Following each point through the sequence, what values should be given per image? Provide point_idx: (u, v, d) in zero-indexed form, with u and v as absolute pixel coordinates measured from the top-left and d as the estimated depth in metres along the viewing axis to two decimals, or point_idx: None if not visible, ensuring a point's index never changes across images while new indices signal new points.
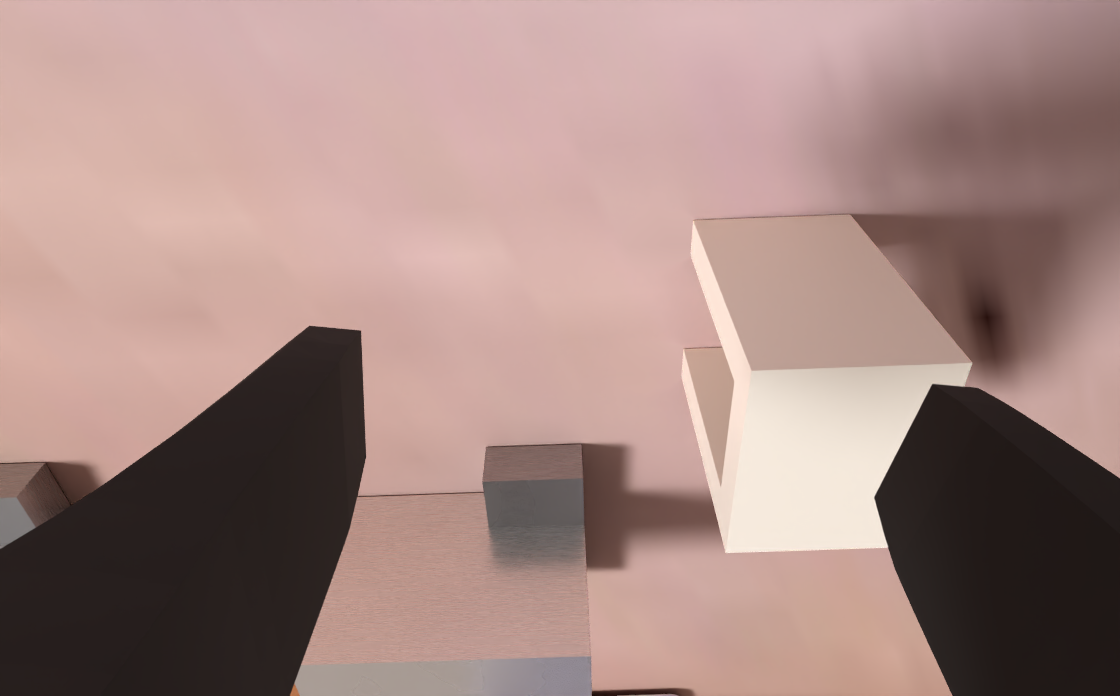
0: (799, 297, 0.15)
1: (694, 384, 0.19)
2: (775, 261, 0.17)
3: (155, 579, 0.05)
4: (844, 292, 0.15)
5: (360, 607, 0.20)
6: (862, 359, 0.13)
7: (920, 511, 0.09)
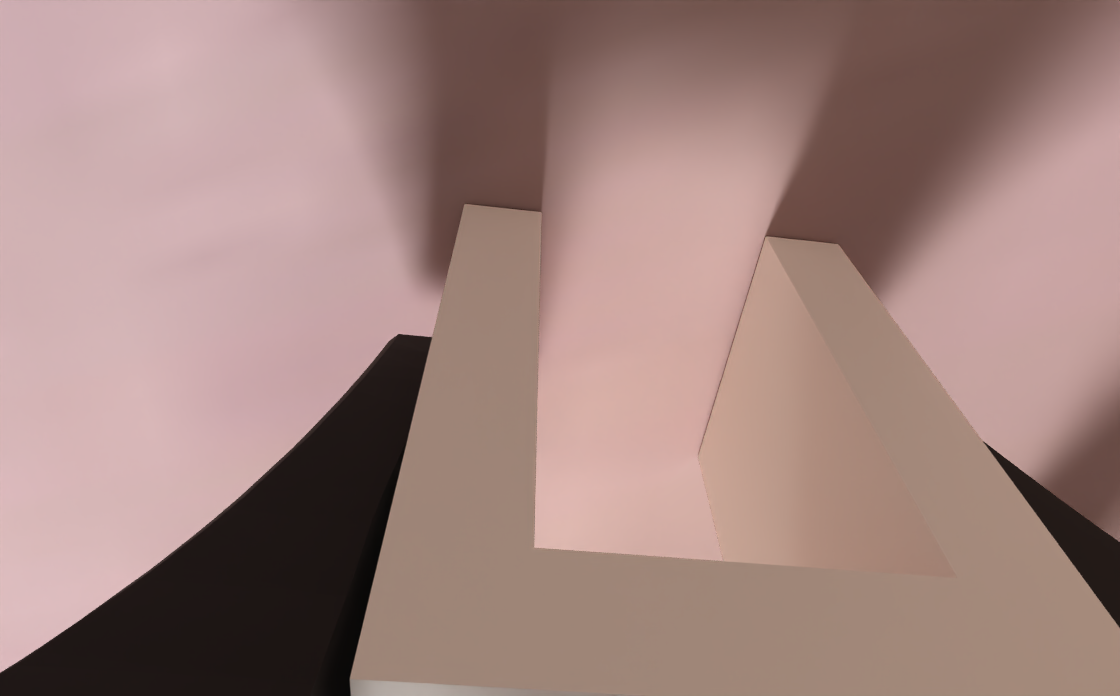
0: None
1: (717, 535, 0.10)
2: None
3: (318, 590, 0.05)
4: None
5: None
6: None
7: None
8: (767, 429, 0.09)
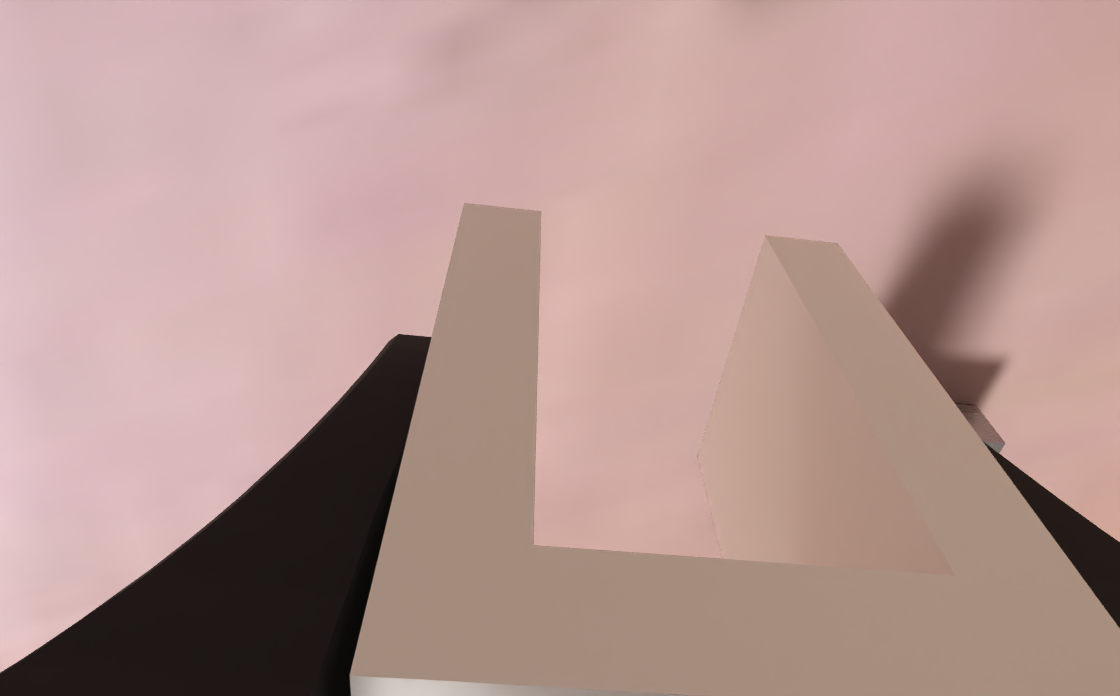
0: None
1: (717, 535, 0.10)
2: None
3: (319, 591, 0.05)
4: None
5: None
6: None
7: None
8: (767, 428, 0.09)
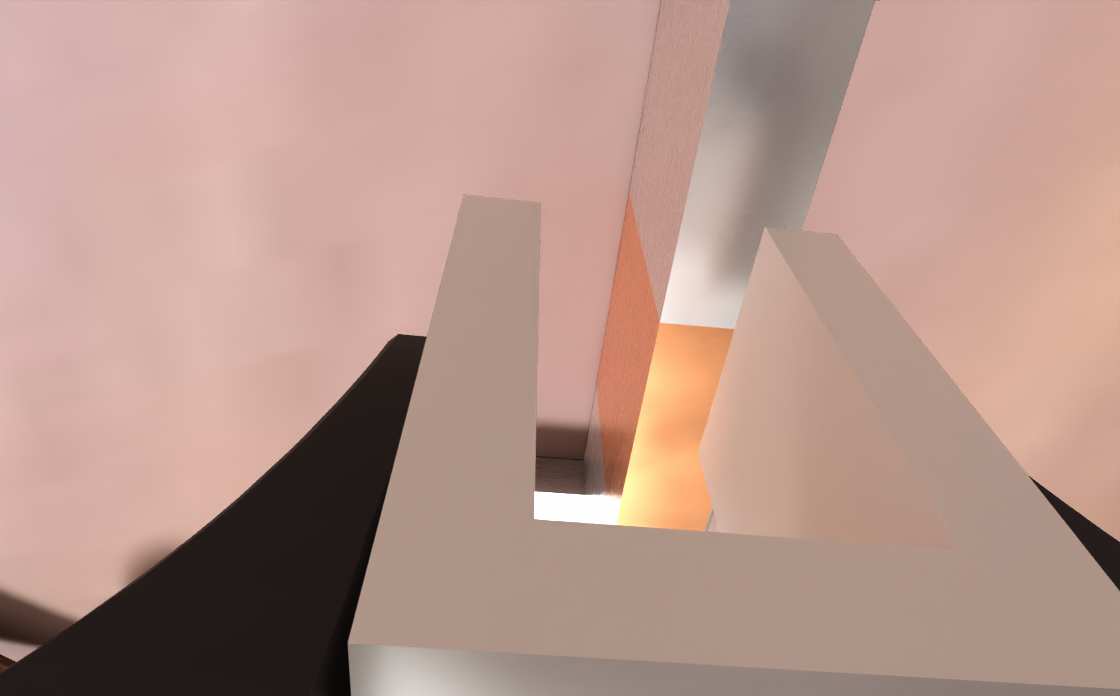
0: None
1: (719, 529, 0.10)
2: None
3: (318, 590, 0.05)
4: None
5: (663, 202, 0.14)
6: None
7: None
8: (768, 418, 0.09)
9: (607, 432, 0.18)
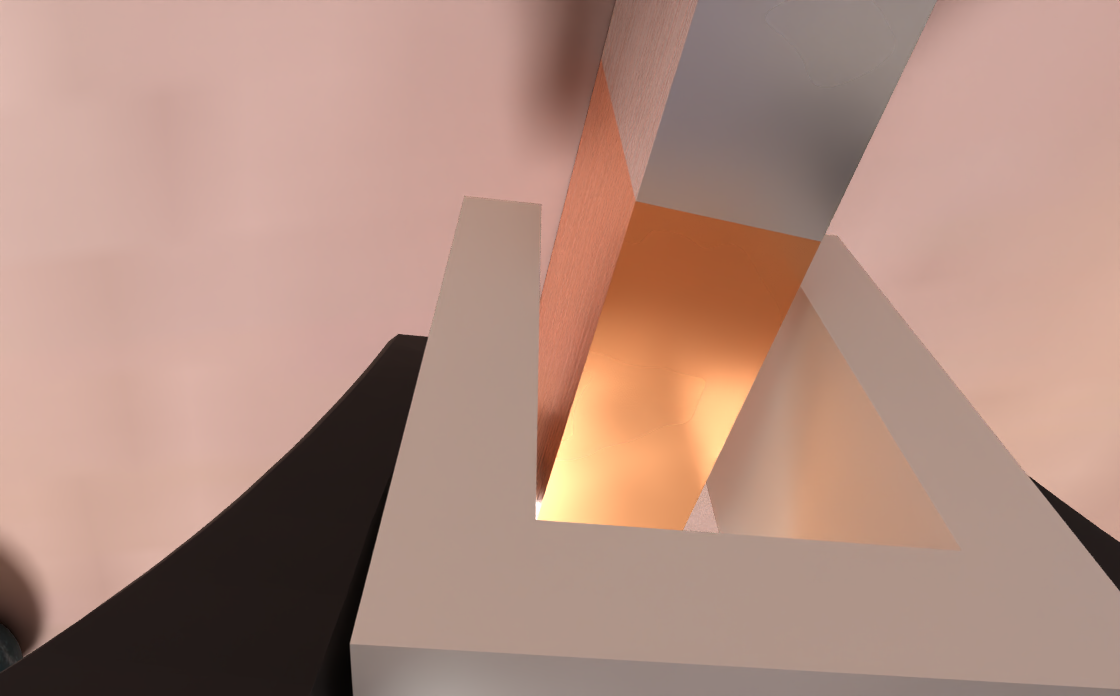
0: None
1: (719, 530, 0.10)
2: None
3: (318, 591, 0.05)
4: None
5: (661, 3, 0.08)
6: None
7: None
8: (769, 419, 0.09)
9: None
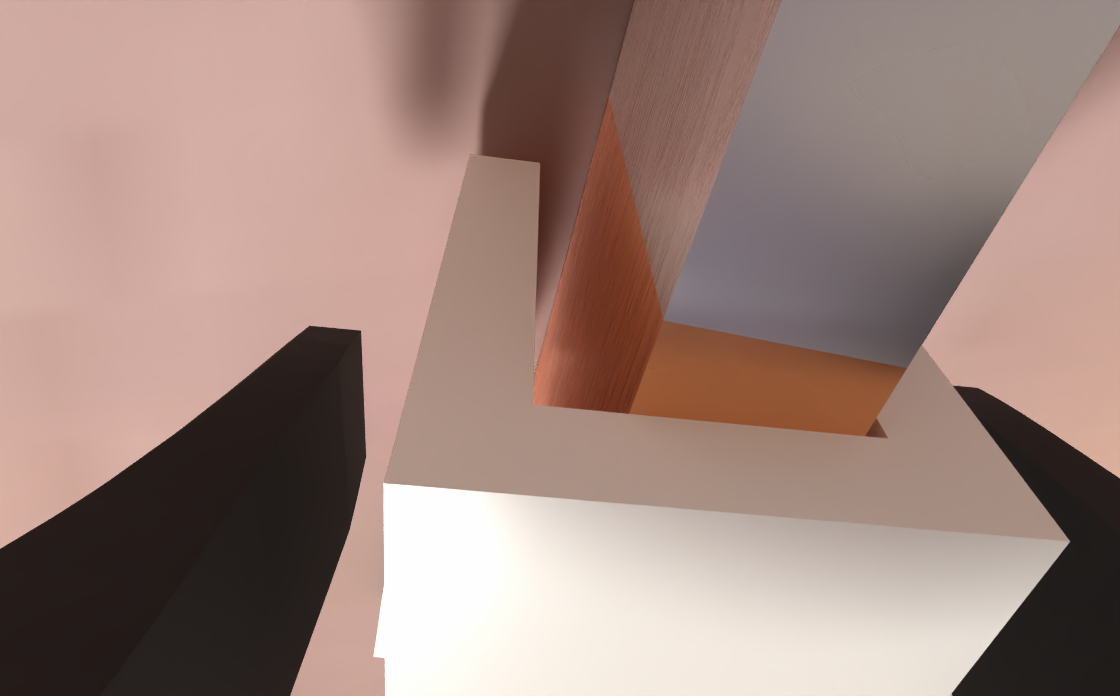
0: None
1: None
2: None
3: (155, 581, 0.05)
4: None
5: (693, 52, 0.06)
6: None
7: None
8: None
9: None
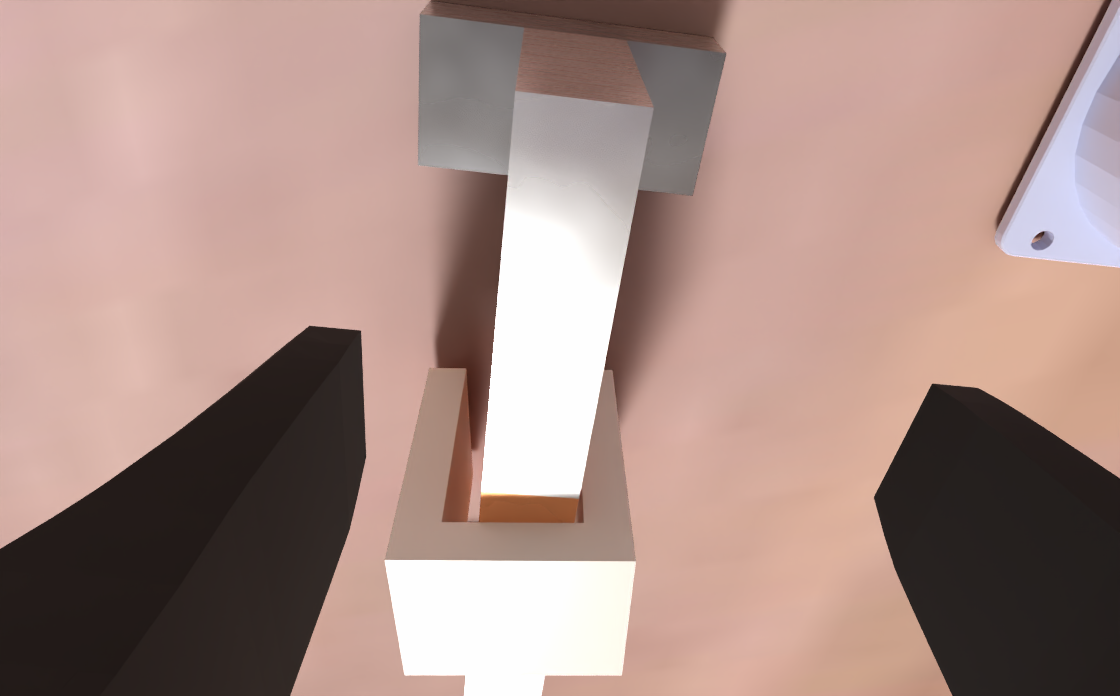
0: None
1: None
2: None
3: (156, 579, 0.05)
4: None
5: None
6: None
7: (920, 511, 0.09)
8: None
9: None
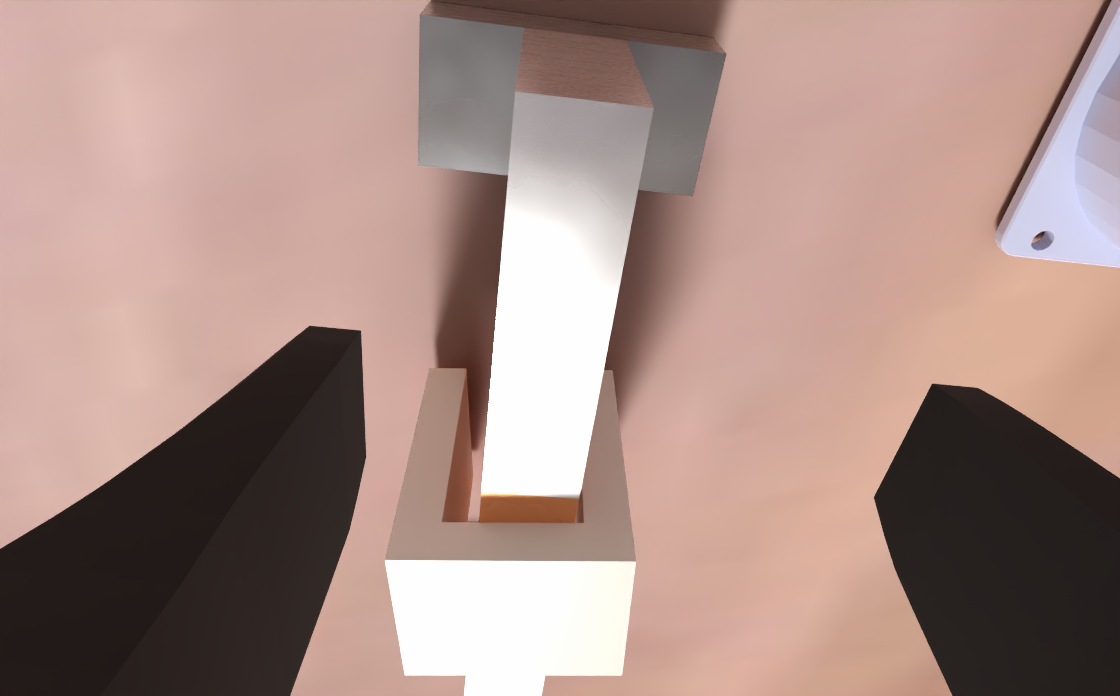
0: None
1: None
2: None
3: (155, 579, 0.05)
4: None
5: None
6: None
7: (920, 511, 0.09)
8: None
9: None
